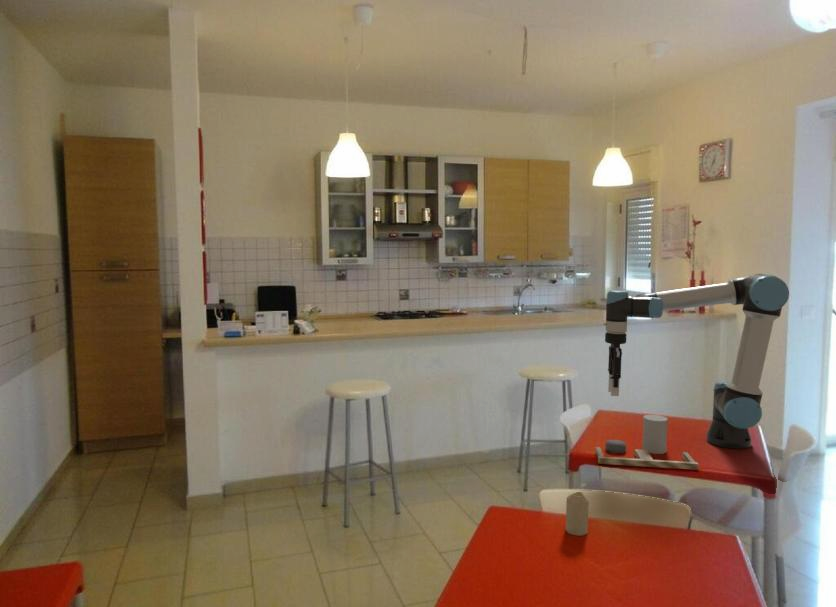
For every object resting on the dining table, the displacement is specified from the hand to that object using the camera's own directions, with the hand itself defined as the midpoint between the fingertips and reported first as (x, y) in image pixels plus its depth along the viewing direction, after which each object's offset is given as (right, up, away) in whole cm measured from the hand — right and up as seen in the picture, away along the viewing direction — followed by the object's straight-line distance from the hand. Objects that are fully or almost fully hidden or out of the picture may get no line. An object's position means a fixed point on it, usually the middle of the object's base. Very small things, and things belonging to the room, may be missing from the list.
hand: (613, 393), depth 225 cm
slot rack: (+5, -21, -18) cm, 28 cm away
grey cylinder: (+13, -20, -6) cm, 24 cm away
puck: (-2, -20, -7) cm, 21 cm away
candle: (-32, -25, -69) cm, 80 cm away
